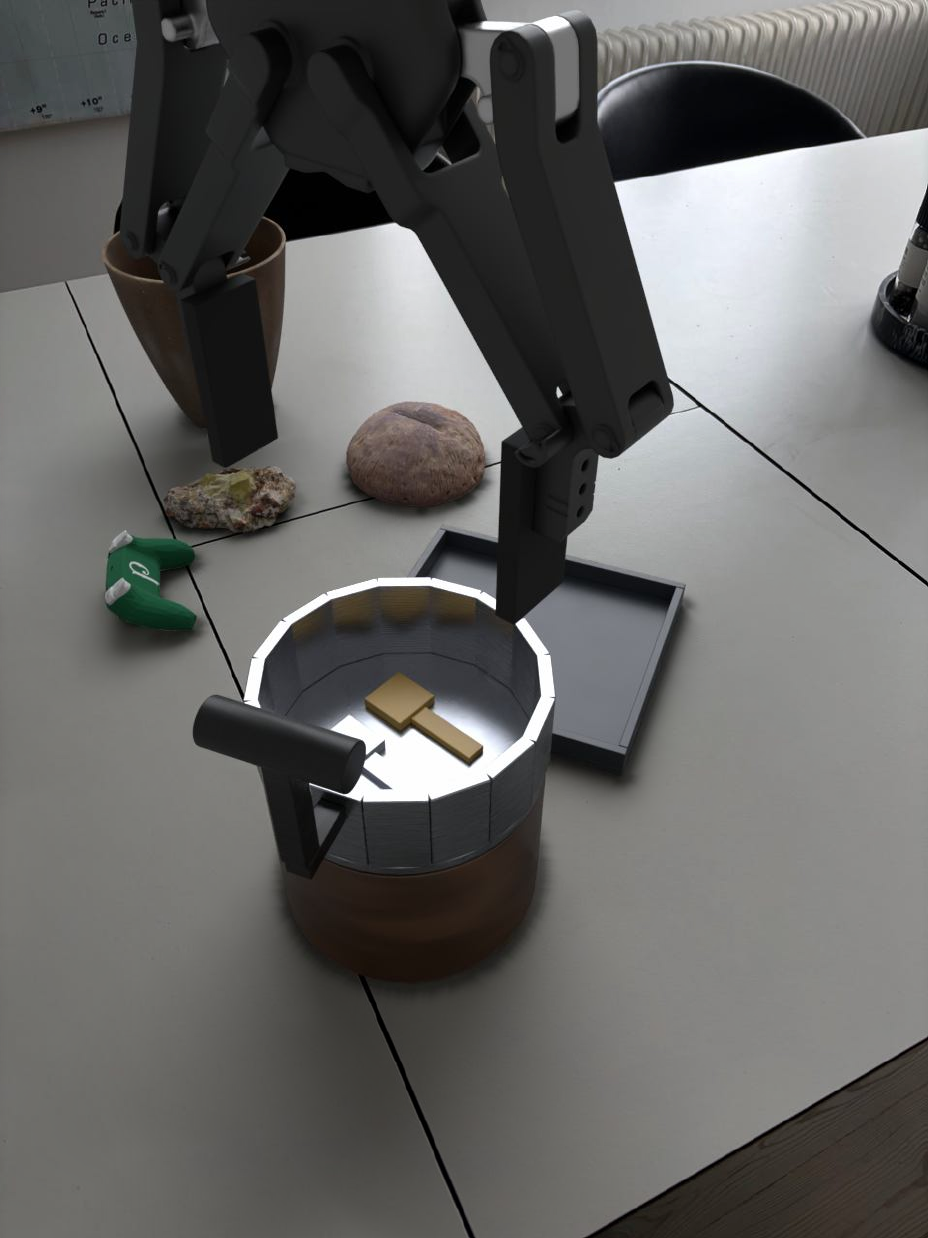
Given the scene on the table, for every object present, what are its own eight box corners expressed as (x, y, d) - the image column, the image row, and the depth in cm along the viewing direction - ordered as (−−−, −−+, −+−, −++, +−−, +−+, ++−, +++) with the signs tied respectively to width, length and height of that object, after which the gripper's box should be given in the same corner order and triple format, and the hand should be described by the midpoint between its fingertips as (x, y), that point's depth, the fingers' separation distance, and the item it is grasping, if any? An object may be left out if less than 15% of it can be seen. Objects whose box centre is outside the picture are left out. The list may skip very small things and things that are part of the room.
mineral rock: (288, 444, 86) (294, 474, 79) (297, 492, 88) (304, 525, 81) (160, 464, 84) (155, 496, 77) (172, 513, 86) (168, 548, 79)
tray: (442, 543, 80) (442, 523, 78) (681, 604, 74) (686, 583, 73) (345, 692, 68) (343, 671, 66) (622, 775, 63) (625, 755, 61)
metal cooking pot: (341, 625, 58) (319, 435, 49) (582, 693, 54) (605, 499, 45) (160, 883, 45) (88, 689, 37) (456, 994, 42) (454, 808, 33)
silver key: (312, 751, 50) (311, 743, 50) (350, 721, 52) (349, 713, 51) (407, 823, 47) (407, 816, 47) (445, 790, 48) (444, 782, 48)
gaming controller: (170, 576, 79) (101, 541, 76) (199, 544, 78) (130, 508, 74) (170, 657, 73) (95, 623, 69) (201, 624, 71) (126, 588, 68)
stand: (354, 740, 65) (341, 628, 58) (568, 808, 61) (581, 695, 54) (237, 929, 55) (206, 820, 48) (484, 1023, 51) (488, 919, 44)
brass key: (364, 706, 52) (364, 698, 52) (399, 679, 54) (399, 671, 53) (459, 772, 49) (459, 765, 49) (493, 742, 51) (493, 734, 50)
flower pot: (156, 469, 87) (113, 294, 76) (132, 387, 97) (91, 221, 86) (324, 435, 91) (305, 264, 80) (284, 360, 101) (263, 198, 90)
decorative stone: (465, 521, 82) (465, 465, 78) (327, 497, 84) (321, 441, 80) (500, 443, 90) (502, 389, 86) (374, 423, 92) (370, 369, 89)
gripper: (976, -275, 18) (742, 612, 32) (105, -297, 29) (222, 365, 44) (785, -264, 13) (614, 754, 28) (-148, -294, 25) (75, 439, 39)
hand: (375, 518), depth 36 cm, fingers open, 13 cm apart
